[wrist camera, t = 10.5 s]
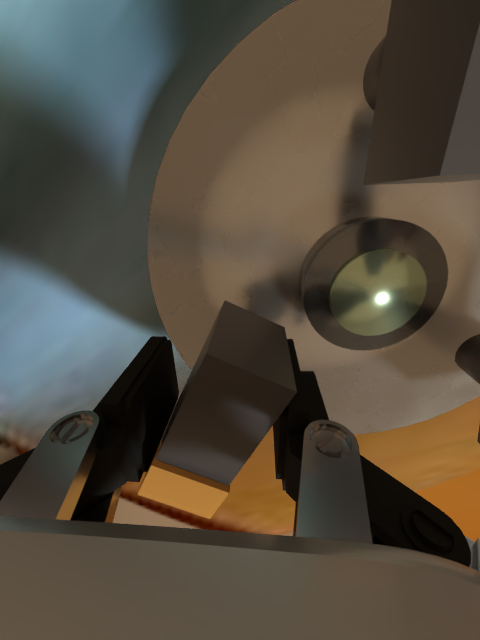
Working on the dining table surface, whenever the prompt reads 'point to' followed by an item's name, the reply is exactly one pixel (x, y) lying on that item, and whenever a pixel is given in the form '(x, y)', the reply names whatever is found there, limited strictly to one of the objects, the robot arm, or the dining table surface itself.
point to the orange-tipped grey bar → (425, 94)
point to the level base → (316, 224)
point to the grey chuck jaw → (222, 412)
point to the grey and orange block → (470, 360)
